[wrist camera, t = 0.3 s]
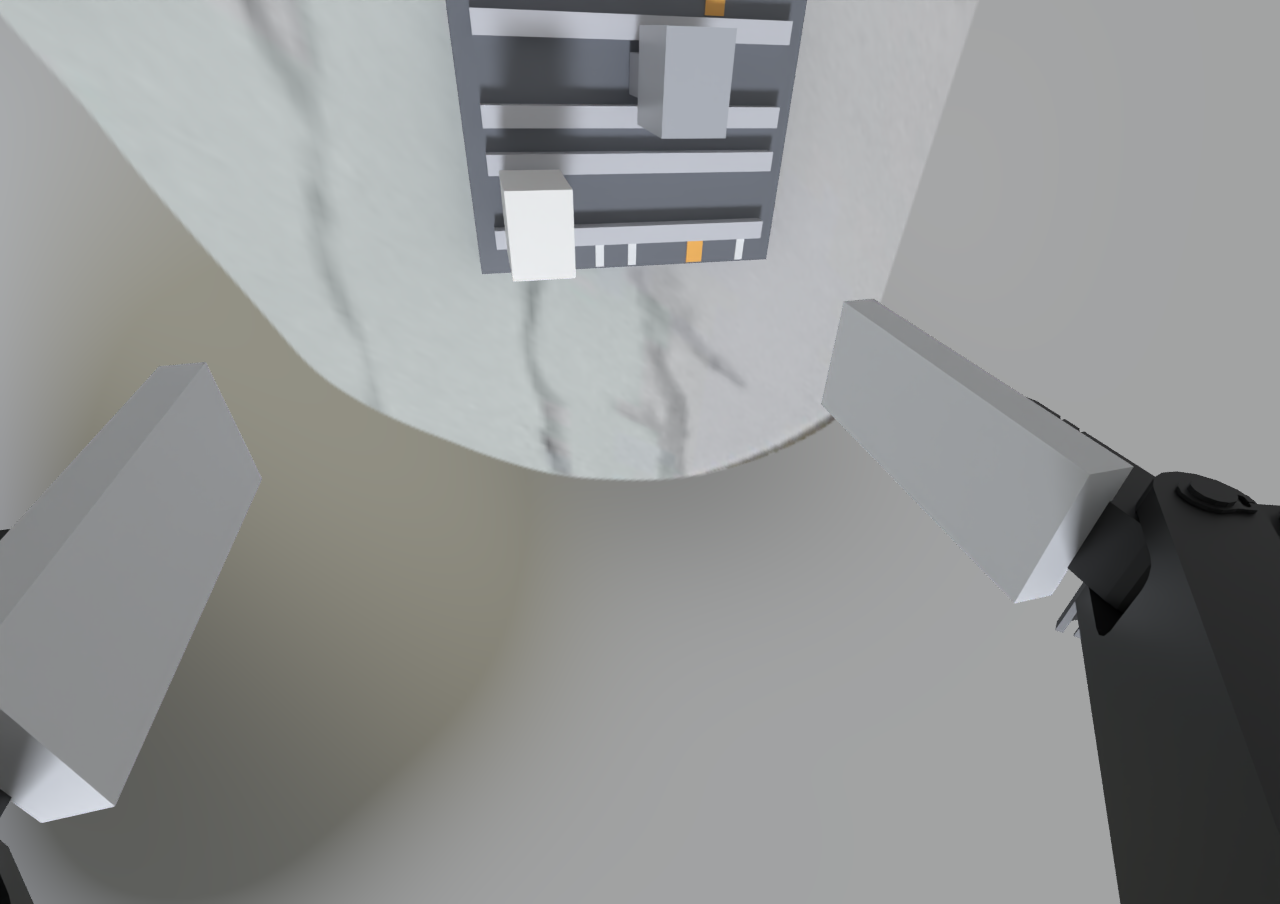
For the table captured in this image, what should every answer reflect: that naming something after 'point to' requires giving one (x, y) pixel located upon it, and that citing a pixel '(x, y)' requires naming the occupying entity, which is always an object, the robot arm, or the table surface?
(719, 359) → the table surface
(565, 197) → the block
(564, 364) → the table surface
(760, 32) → the console
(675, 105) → the pale grey upright box
